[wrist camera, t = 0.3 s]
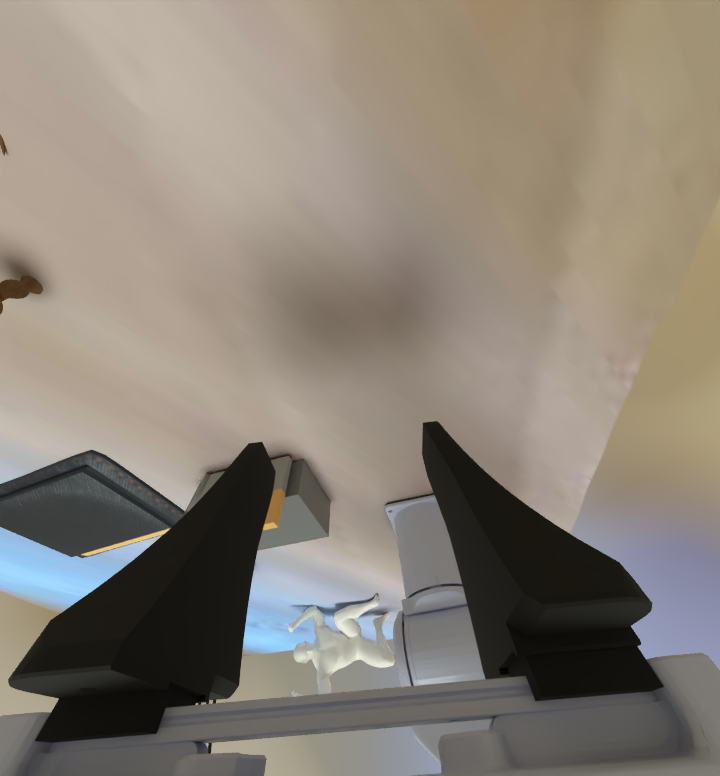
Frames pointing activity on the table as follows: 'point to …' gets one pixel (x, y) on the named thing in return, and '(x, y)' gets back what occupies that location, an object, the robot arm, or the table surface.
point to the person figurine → (341, 643)
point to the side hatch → (277, 500)
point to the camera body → (299, 511)
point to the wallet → (85, 506)
